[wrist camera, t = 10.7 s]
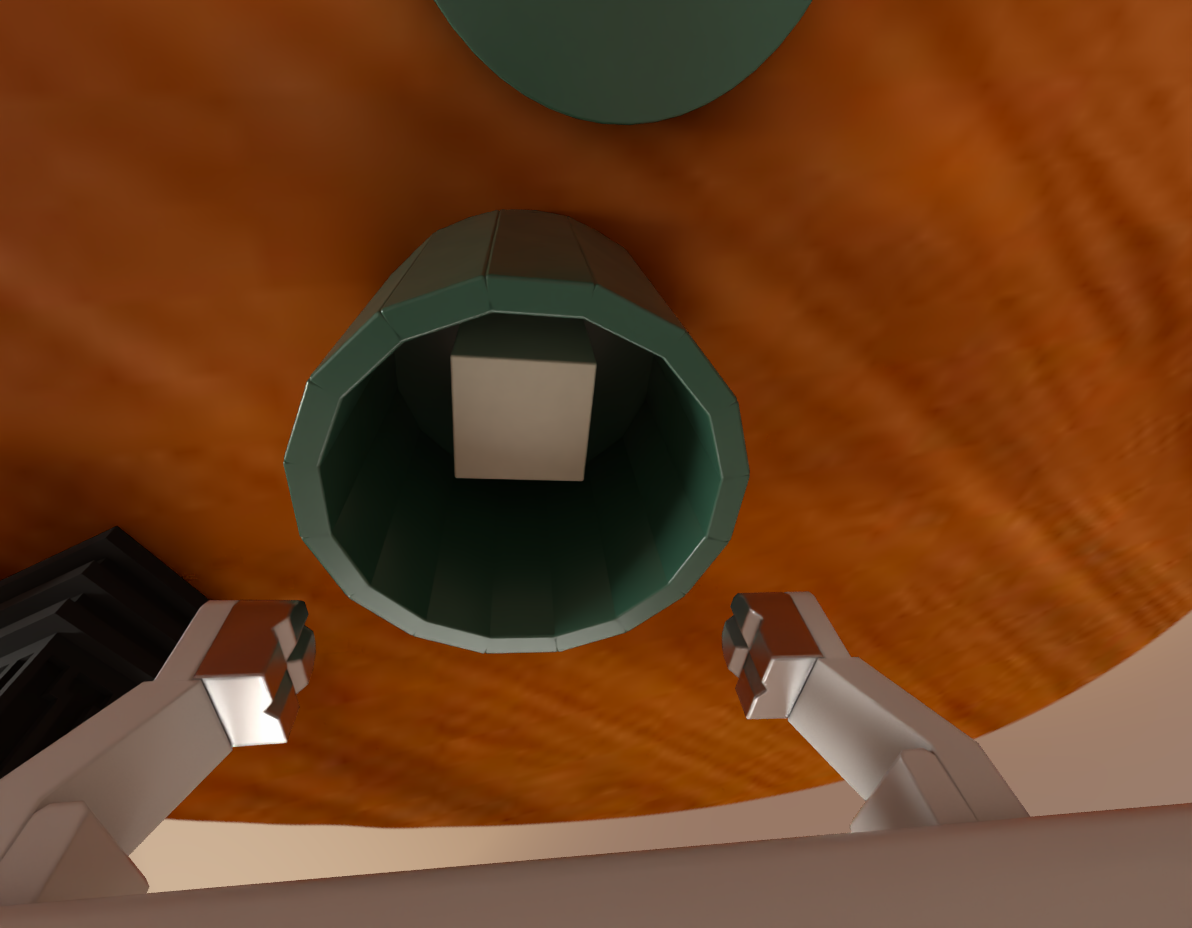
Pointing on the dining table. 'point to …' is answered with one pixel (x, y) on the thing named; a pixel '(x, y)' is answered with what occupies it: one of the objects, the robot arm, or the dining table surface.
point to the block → (521, 397)
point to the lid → (623, 50)
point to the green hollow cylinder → (506, 506)
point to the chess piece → (83, 637)
